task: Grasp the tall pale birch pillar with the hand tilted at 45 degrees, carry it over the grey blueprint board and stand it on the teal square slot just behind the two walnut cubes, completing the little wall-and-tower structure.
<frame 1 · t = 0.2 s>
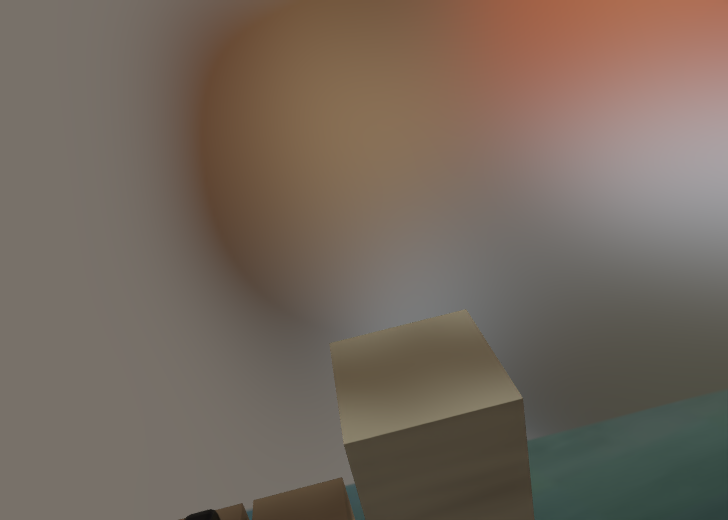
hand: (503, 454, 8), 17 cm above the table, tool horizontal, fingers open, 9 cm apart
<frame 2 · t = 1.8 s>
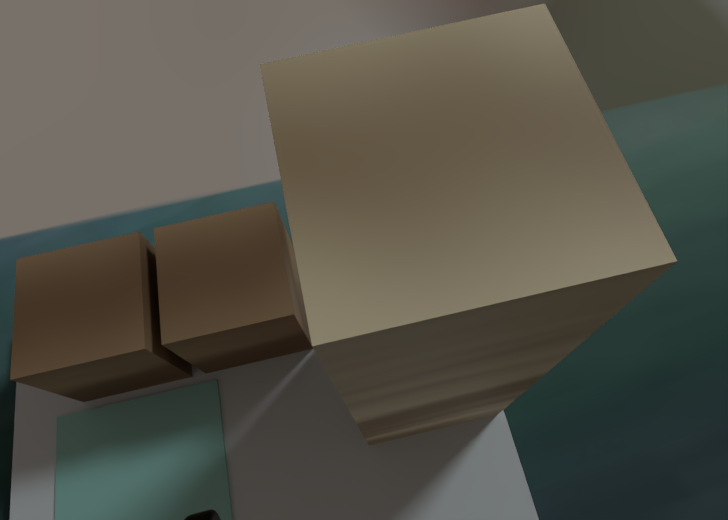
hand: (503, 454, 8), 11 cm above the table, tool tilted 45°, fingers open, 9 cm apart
cube b: (252, 310, 20), point 1 cm above the table, touching blueprint board
pillar: (416, 366, 19), point 1 cm above the table, touching blueprint board
cube a: (135, 337, 20), point 1 cm above the table, touching blueprint board
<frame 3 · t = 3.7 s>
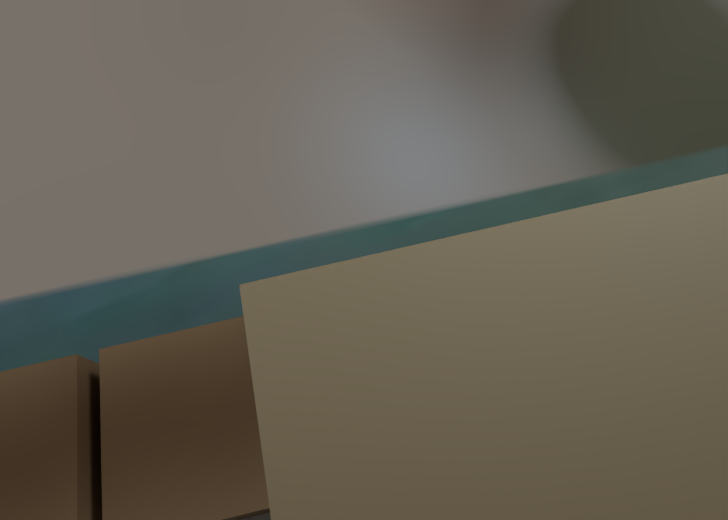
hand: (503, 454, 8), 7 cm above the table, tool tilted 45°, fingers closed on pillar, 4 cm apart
cube b: (245, 437, 15), point 1 cm above the table, touching blueprint board
cube a: (84, 475, 15), point 1 cm above the table, touching blueprint board
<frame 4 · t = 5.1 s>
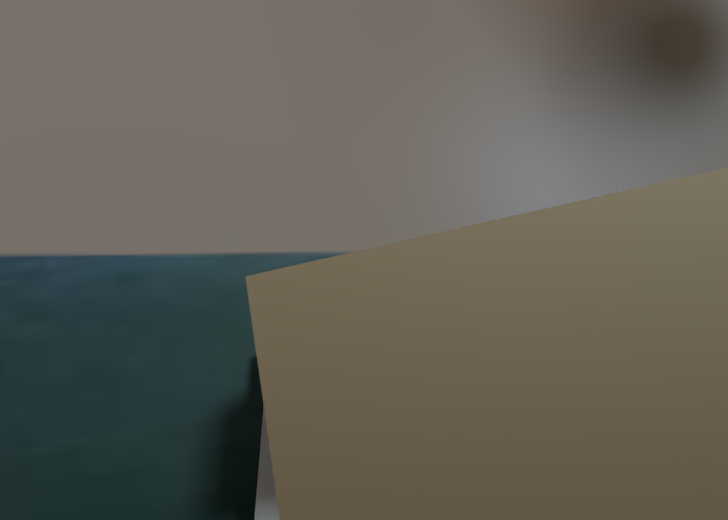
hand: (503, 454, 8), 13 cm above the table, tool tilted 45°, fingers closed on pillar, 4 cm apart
when the fingers open (8 cm above the table, at t = 6.8 s): pillar stays where it is, resting on blueprint board.
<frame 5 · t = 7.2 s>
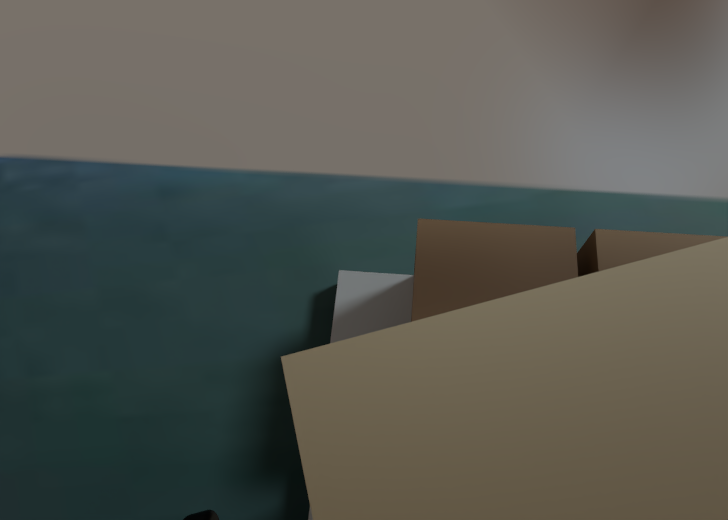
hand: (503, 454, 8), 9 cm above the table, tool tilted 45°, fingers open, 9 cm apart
cube b: (623, 350, 16), point 1 cm above the table, touching blueprint board
cube a: (474, 338, 17), point 1 cm above the table, touching blueprint board
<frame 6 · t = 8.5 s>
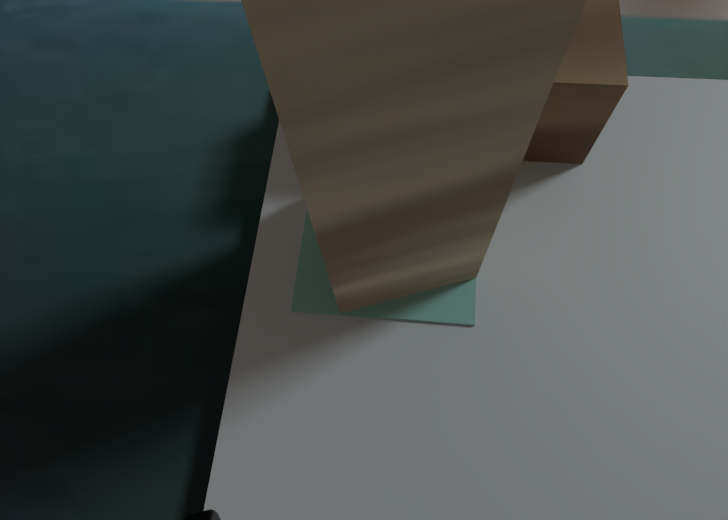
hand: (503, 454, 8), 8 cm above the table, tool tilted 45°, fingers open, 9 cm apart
cube b: (523, 114, 20), point 1 cm above the table, touching blueprint board
pillar: (389, 234, 18), point 1 cm above the table, touching blueprint board
blueprint board: (504, 362, 17), on the table
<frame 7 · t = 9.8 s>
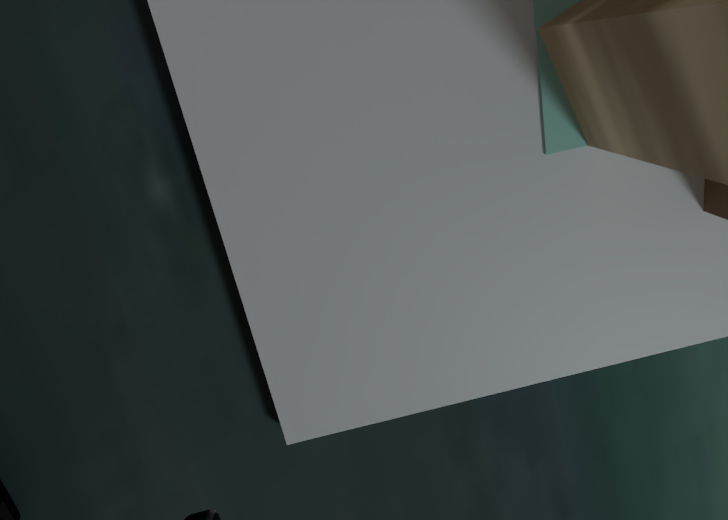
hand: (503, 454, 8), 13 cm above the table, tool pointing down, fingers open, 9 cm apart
pillar: (622, 52, 18), point 1 cm above the table, touching blueprint board
blueprint board: (514, 183, 20), on the table
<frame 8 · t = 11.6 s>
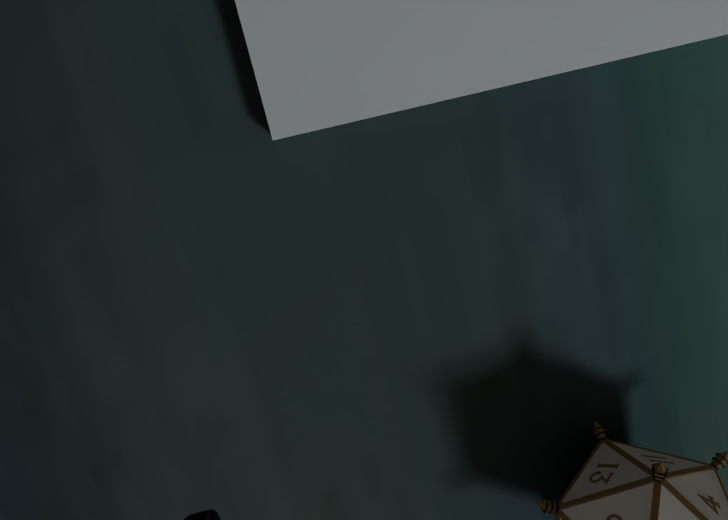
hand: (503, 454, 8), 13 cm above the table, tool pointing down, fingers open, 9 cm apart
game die: (594, 467, 26), on the table
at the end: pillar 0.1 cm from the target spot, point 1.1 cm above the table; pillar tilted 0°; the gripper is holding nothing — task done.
